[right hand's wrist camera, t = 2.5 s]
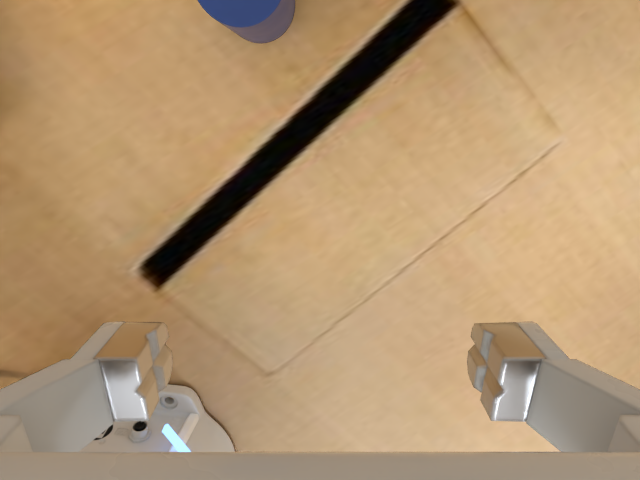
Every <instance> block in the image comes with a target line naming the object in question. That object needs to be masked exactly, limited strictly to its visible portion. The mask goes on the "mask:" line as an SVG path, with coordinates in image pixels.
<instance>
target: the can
mask: <svg viewBox="0 0 640 480" xmlns="http://www.w3.org/2000/svg"><path fill="white" fill-rule="evenodd" d="M198 2H199V3H200V5H201V6H202V7H203V9H204V10H205V11H206V12H207V13H208V14H209V15H210V16H211V17H213V18H214V19H216V20H217V21H219V22H220V23H221V24H223V25H224V26H226V27H227V28H229V29H230V30H232V31H233V32H235V33H236V34H238V35H239V36H241V37H242V38H244V39H246V40H248V41H251V42H254V43H267V42H271V41H273V40H276V39H277V38H279V37H280V36H281V35H283V34H284V32H285V31H286V30H287V29H288V27H289V26H290V24H291V22H292V19H293V16H294V11H295V0H198Z"/></svg>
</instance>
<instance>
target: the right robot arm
mask: <svg viewBox="0 0 640 480" xmlns="http://www.w3.org/2000/svg"><path fill="white" fill-rule="evenodd" d="M168 338H169V333H168V328H167V325H166V324H165V323H155V322H106V323H103V324H102V325H101V326H100V328H99V329H98V330H97V331H96V332H95V333H94V334H93V335H92V336H91V337H90V338H89V339H88V340H87V342H86V343H85V344H84V345H83V346H82V347H81V348H80V349H79V350H78V351H77V352H76V353H75V354H74V356H73V357H72V358H71V359H63V360H61V361H59V362H57V363H55V364H53V365H51V366H49V367H47V368H44V369H42V370H40V371H38V372H36V373H34V374H32V375H30V376H28V377H25V378H23V379H21V380H19V381H17V382H15V383H13V384H11V385H9V386H6V387H4V388H2V389H0V480H640V389H638V388H635V387H633V386H631V385H629V384H627V383H625V382H623V381H621V380H619V379H617V378H614V377H612V376H610V375H608V374H606V373H604V372H602V371H600V370H598V369H596V368H593V367H591V366H589V365H587V364H585V363H583V362H581V361H579V360H577V359H569V358H568V357H567V356H566V354H565V353H564V352H563V351H562V350H561V349H560V348H559V347H558V346H557V345H556V344H555V343H554V342H553V340H552V339H551V338H550V337H549V336H548V335H547V334H546V333H545V332H544V331H543V330H542V329H541V328H540V326H539V325H538V324H537V323H534V322H509V323H475V324H474V326H473V328H472V332H471V338H472V340H473V341H474V343H475V345H474V346H473V347H472V348H471V349H470V350H469V351H468V358H467V367H468V374H469V377H470V381H471V383H472V385H473V387H474V388H476V389H477V390H478V391H480V392H481V393H482V394H481V402H482V404H483V406H484V408H485V410H486V412H487V414H488V416H489V418H490V420H491V421H522V422H526V423H527V424H528V425H529V426H530V427H532V428H533V429H534V430H535V431H536V432H538V433H539V434H540V435H541V436H543V437H544V438H545V439H546V440H547V441H549V442H550V443H551V444H552V445H554V446H555V447H556V448H557V449H559V450H560V451H561V452H235V449H234V446H233V444H232V441H231V439H230V438H229V436H228V435H227V433H226V432H225V431H224V429H223V428H222V427H221V426H220V425H219V424H218V423H217V422H216V421H215V420H213V419H212V418H211V417H210V416H209V415H208V414H207V413H206V411H205V410H204V408H203V405H202V403H201V401H200V399H199V397H198V395H197V394H196V393H195V391H194V390H192V389H191V388H189V387H186V386H180V385H170V384H168V383H169V380H170V378H171V373H172V369H173V357H172V351H171V350H170V349H169V348H168V347H167V346H166V345H165V343H166V341H167V340H168ZM169 397H171V398H173V399H171V398H169Z"/></svg>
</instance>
